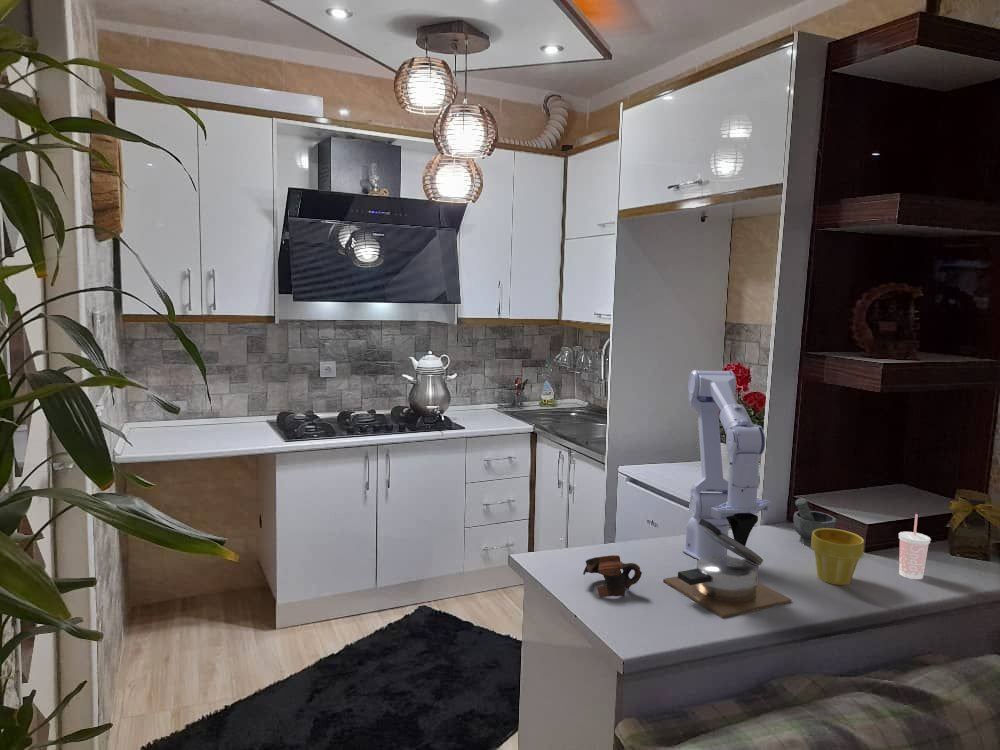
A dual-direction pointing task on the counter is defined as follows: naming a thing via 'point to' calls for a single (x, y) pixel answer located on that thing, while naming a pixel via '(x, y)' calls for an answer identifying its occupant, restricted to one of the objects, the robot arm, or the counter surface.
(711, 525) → the cooker lid
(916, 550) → the beverage cup
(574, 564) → the counter surface
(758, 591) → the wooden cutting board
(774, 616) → the counter surface
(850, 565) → the plant pot
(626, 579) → the pottery mug
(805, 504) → the mortar and pestle
